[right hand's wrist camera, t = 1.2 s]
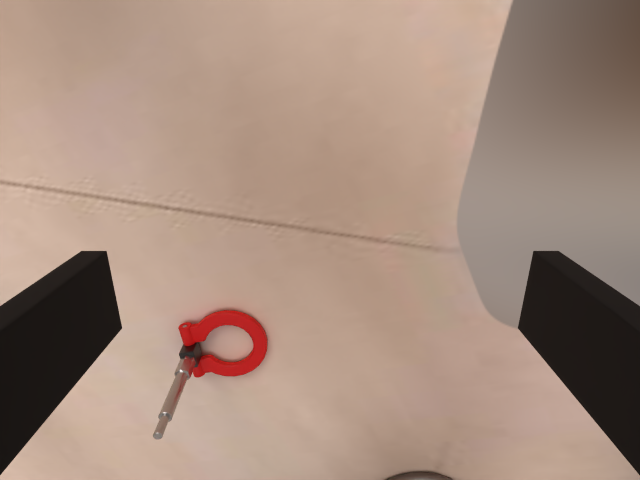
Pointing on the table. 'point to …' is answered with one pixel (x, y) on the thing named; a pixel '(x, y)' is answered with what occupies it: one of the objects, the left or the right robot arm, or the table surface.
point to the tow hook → (210, 357)
